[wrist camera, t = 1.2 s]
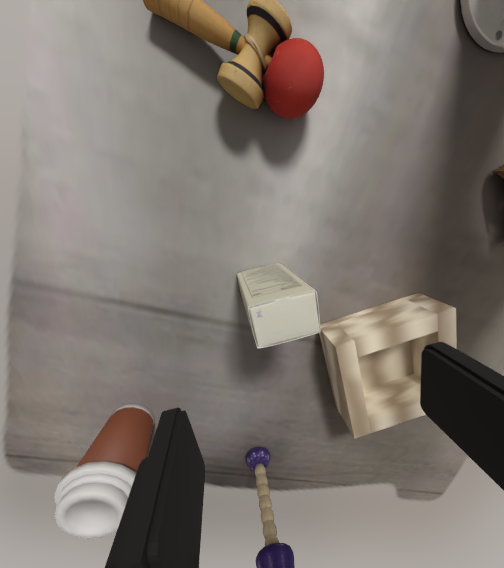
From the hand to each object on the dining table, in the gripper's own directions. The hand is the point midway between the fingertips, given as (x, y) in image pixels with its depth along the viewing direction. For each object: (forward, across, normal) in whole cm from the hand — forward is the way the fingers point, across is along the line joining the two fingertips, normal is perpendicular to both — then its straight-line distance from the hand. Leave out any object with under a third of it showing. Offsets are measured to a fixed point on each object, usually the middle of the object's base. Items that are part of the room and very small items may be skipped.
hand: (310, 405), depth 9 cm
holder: (+23, -17, +18) cm, 34 cm away
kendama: (+24, -3, -22) cm, 33 cm away
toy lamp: (+24, +4, +33) cm, 41 cm away
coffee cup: (+24, +22, +19) cm, 38 cm away
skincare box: (+24, -2, +2) cm, 24 cm away
